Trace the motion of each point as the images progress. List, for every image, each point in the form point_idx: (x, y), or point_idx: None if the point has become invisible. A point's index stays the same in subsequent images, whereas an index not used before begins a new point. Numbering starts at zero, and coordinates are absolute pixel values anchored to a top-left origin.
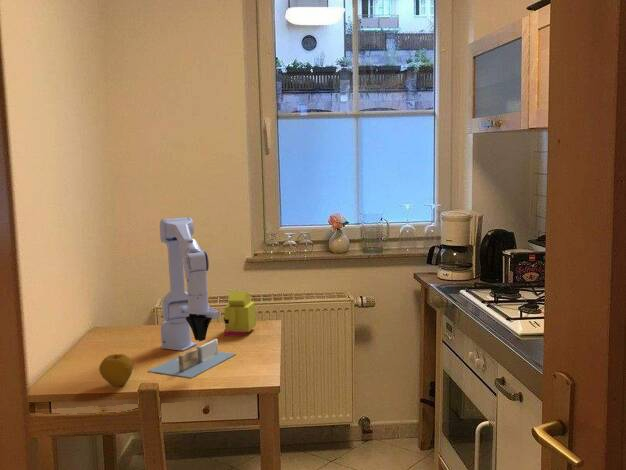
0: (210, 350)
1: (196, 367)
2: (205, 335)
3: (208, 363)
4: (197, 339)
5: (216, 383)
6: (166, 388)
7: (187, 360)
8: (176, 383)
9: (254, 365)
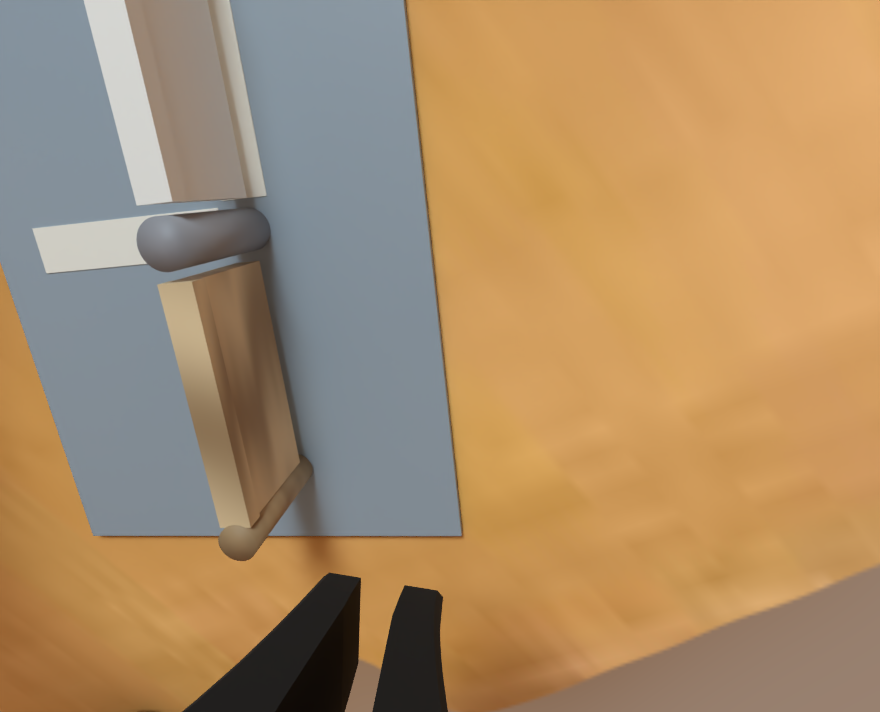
0: (185, 30)
1: (329, 349)
2: (437, 648)
3: (344, 219)
4: (355, 661)
5: (710, 548)
6: None
7: (264, 434)
8: None
9: (816, 3)
